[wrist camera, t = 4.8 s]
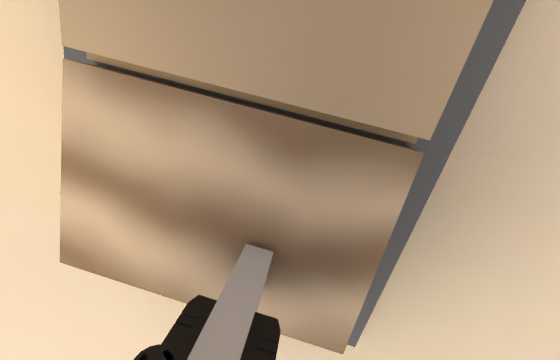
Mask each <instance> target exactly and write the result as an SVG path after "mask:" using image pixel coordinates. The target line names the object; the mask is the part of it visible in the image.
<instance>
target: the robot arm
mask: <svg viewBox="0 0 560 360" xmlns="http://www.w3.org/2000/svg"><path fill="white" fill-rule="evenodd" d="M272 256H273V252H272V251H269V250H266V249H262V248H259V247H256V246H252V245H249V244H246V245H245V247H244V249H243V251H242V253H241V255H240V257H239V259H238V261H237V263H236V265H235V267H234V269H233V271H232V273H231V274H230V276H229V278H228V280H227V282H226V284H225V286H224V288H223V290H222V292H221V294H220V296H219V298H218V300H214V299H211V298H208V297H205V296H202V295H197V296H196V297H195V298H193V299H192V300H191V301H189V302H188V304H187V305H186V307H185V308H184V310H183V311H182V313H181V315H180V316H179V318H178V319H177V321H176V323H175V324H174V325H173V327H172V329H171V330H170V332H169V333H168V335H167V336H166V338H165V339H164V341H163V343H162V344H161V345H155V346H150V347H148V348H146V349H145V350H143V351H141V352H140V353H139V354H138V355H137V356H136V357H135V358H134V360H276V354H277V349H278V343H279V338H280V332H281V330H280V325H279V321H278V319H277V318H274V317H271V316H267V315H264V314H261V313H258V312H257V310H258V306H259V303H260V300H261V297H262V293H263V290H264V286H265V282H266V279H267V275H268V271H269V267H270V264H271V260H272Z"/></svg>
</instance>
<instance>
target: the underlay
mask: <svg viewBox="0 0 560 360" xmlns="http://www.w3.org/2000/svg"><path fill="white" fill-rule="evenodd" d="M525 1H526V0H59V7H60V20H61V33H62V46H64V59H68V60H73V61H78V62H83V63H88V64H93V65H97V66H101V67H105V68H108V69H112V70H116V71H120V72H124V73H128V74H131V75H135V76H139V77H143V78H147V79H151V80H154V81H158V82H162V83H166V84H170V85H174V86H177V87H181V88H185V89H189V90H193V91H197V92H200V93H204V94H208V95H212V96H216V97H220V98H223V99H227V100H231V101H235V102H239V103H243V104H246V105H250V106H254V107H258V108H262V109H265V110H269V111H273V112H277V113H281V114H285V115H288V116H292V117H296V118H300V119H304V120H308V121H311V122H315V123H319V124H323V125H327V126H331V127H334V128H338V129H342V130H346V131H350V132H354V133H357V134H361V135H365V136H369V137H373V138H377V139H380V140H384V141H388V142H392V143H396V144H400V145H403V146H407V147H411V148H413V149H416V150H418V151H421V152H423V153H424V155H423V158H422V160H421V163H420V165H419V167H418V170H417V172H416V175H415V177H414V180H413V182H412V185H411V187H410V190H409V192H408V195H407V197H406V200H405V202H404V205H403V207H402V209H401V212H400V214H399V217H398V219H397V222H396V224H395V227H394V229H393V232H392V234H391V237H390V239H389V242H388V244H387V247H386V249H385V251H384V254H383V256H382V259H381V261H380V264H379V266H378V269H377V271H376V274H375V276H374V279H373V281H372V284H371V286H370V289H369V291H368V293H367V296H366V298H365V301H364V303H363V306H362V308H361V311H360V313H359V316H358V318H357V321H356V323H355V326H354V328H353V331H352V333H351V335H350V338H349V340H348V343H347V345H351V346H354V347H355V346H356V344H357V342H358V340H359V338H360V335H361V333H362V331H363V329H364V327H365V325H366V323H367V321H368V319H369V317H370V315H371V313H372V311H373V309H374V307H375V305H376V303H377V301H378V299H379V297H380V295H381V293H382V291H383V289H384V287H385V285H386V283H387V281H388V279H389V277H390V275H391V273H392V271H393V269H394V267H395V265H396V263H397V261H398V259H399V256H400V254H401V252H402V250H403V248H404V246H405V244H406V242H407V240H408V238H409V236H410V234H411V232H412V230H413V228H414V226H415V224H416V222H417V220H418V218H419V216H420V214H421V212H422V210H423V208H424V206H425V204H426V202H427V200H428V198H429V196H430V194H431V192H432V190H433V188H434V186H435V184H436V182H437V180H438V177H439V175H440V173H441V171H442V169H443V167H444V165H445V163H446V161H447V159H448V157H449V155H450V153H451V151H452V149H453V147H454V145H455V143H456V141H457V139H458V137H459V135H460V133H461V131H462V129H463V127H464V125H465V123H466V121H467V119H468V117H469V115H470V113H471V111H472V109H473V107H474V105H475V103H476V100H477V98H478V96H479V94H480V92H481V90H482V88H483V86H484V84H485V82H486V80H487V78H488V76H489V74H490V72H491V70H492V68H493V66H494V64H495V62H496V60H497V58H498V56H499V54H500V52H501V50H502V48H503V46H504V44H505V42H506V40H507V38H508V36H509V34H510V32H511V30H512V28H513V26H514V24H515V21H516V19H517V17H518V15H519V13H520V11H521V9H522V7H523V5H524V3H525Z"/></svg>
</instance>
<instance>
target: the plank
mask: <svg viewBox="0 0 560 360" xmlns="http://www.w3.org/2000/svg"><path fill="white" fill-rule="evenodd" d="M423 155H424V153H423V152H421V151H418V150H416V149H413V148H411V147H407V146H403V145H400V144H396V143H392V142H388V141H384V140H380V139H377V138H373V137H369V136H365V135H361V134H357V133H354V132H350V131H346V130H342V129H338V128H334V127H331V126H327V125H323V124H319V123H315V122H311V121H308V120H304V119H300V118H296V117H292V116H288V115H285V114H281V113H277V112H273V111H269V110H265V109H262V108H258V107H254V106H250V105H246V104H243V103H239V102H235V101H231V100H227V99H223V98H220V97H216V96H212V95H208V94H204V93H200V92H197V91H193V90H189V89H185V88H181V87H177V86H174V85H170V84H166V83H162V82H158V81H154V80H151V79H147V78H143V77H139V76H135V75H131V74H128V73H124V72H120V71H116V70H112V69H108V68H105V67H101V66H97V65H93V64H88V63H83V62H78V61H73V60H68V59H63V93H62V157H61V221H60V262H61V263H64V264H67V265H70V266H73V267H76V268H79V269H82V270H85V271H88V272H91V273H94V274H98V275H101V276H104V277H107V278H110V279H113V280H116V281H119V282H122V283H125V284H128V285H131V286H134V287H138V288H141V289H144V290H147V291H150V292H153V293H156V294H159V295H162V296H165V297H168V298H171V299H174V300H177V301H181V302H184V303H187V304H188V302H189V301H191V300H192V299H193V298H195V297H196V296H197V295H202V296H205V297H208V298H211V299H214V300H218V298H219V296H220V294H221V292H222V290H223V288H224V286H225V284H226V282H227V280H228V278H229V276H230V274H231V273H232V271H233V269H234V267H235V265H236V263H237V261H238V259H239V257H240V255H241V253H242V251H243V249H244V247H245V245H246V244H249V245H252V246H256V247H259V248H262V249H266V250H269V251H272V252H273V256H272V260H271V264H270V267H269V271H268V275H267V279H266V282H265V286H264V290H263V293H262V297H261V300H260V303H259V306H258V310H257V312H258V313H261V314H264V315H267V316H271V317H274V318H277V319H278V321H279V325H280V330H281V332H280V334H282V335H285V336H288V337H291V338H294V339H297V340H300V341H303V342H307V343H310V344H313V345H316V346H319V347H322V348H325V349H328V350H331V351H334V352H337V353H340V354H343V353H344V350H345V348H346V345H347V343H348V340H349V338H350V335H351V333H352V331H353V328H354V326H355V323H356V321H357V318H358V316H359V313H360V311H361V308H362V306H363V303H364V301H365V298H366V296H367V293H368V291H369V289H370V286H371V284H372V281H373V279H374V276H375V274H376V271H377V269H378V266H379V264H380V261H381V259H382V256H383V254H384V251H385V249H386V247H387V244H388V242H389V239H390V237H391V234H392V232H393V229H394V227H395V224H396V222H397V219H398V217H399V214H400V212H401V209H402V207H403V205H404V202H405V200H406V197H407V195H408V192H409V190H410V187H411V185H412V182H413V180H414V177H415V175H416V172H417V170H418V167H419V165H420V163H421V160H422V158H423Z"/></svg>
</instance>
